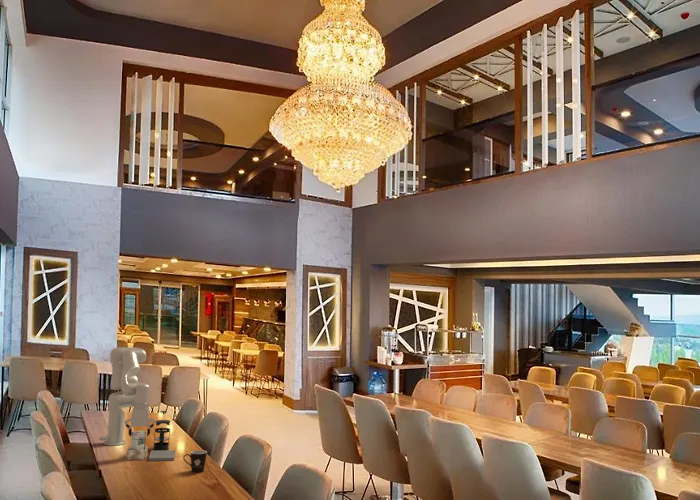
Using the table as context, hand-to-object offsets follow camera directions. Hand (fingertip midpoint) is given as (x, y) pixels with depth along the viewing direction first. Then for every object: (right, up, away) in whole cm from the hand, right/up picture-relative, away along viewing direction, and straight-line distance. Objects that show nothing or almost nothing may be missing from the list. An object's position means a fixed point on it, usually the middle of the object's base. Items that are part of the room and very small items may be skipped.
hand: (139, 435), depth 336 cm
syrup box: (-1, -12, -1) cm, 12 cm away
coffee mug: (+39, -12, -23) cm, 46 cm away
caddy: (-1, -12, -1) cm, 12 cm away
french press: (+6, -15, +20) cm, 26 cm away
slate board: (+13, -13, +3) cm, 18 cm away
